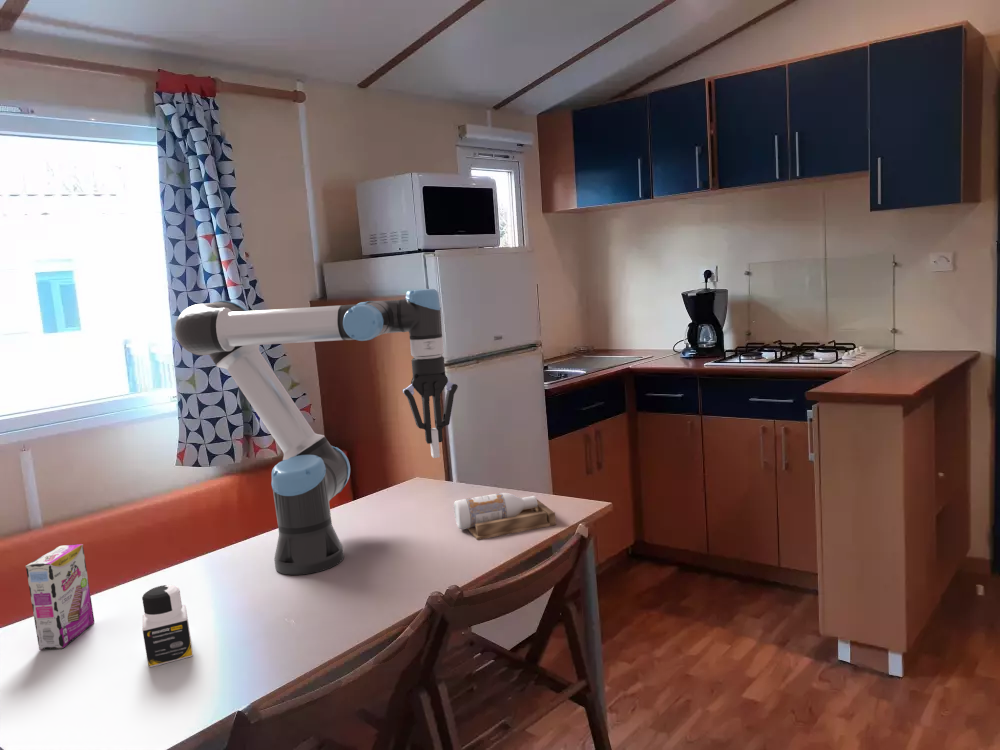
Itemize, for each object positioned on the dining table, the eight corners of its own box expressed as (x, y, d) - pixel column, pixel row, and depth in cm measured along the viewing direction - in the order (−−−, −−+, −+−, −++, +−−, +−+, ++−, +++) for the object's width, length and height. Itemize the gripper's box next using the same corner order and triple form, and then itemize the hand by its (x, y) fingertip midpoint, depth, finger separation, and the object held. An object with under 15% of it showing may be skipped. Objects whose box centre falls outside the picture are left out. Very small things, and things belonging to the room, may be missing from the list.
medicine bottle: (148, 668, 135) (137, 601, 134) (148, 651, 142) (138, 587, 140) (193, 657, 138) (182, 591, 136) (191, 640, 145) (181, 578, 143)
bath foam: (452, 497, 193) (530, 483, 198) (454, 524, 195) (532, 510, 200) (458, 505, 187) (539, 492, 192) (461, 533, 188) (541, 519, 193)
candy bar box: (64, 649, 146) (49, 563, 144) (38, 651, 146) (23, 566, 144) (97, 622, 157) (83, 542, 155) (72, 624, 157) (58, 544, 155)
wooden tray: (476, 540, 184) (475, 527, 183) (462, 523, 197) (461, 510, 197) (555, 525, 189) (554, 512, 189) (536, 509, 203) (535, 497, 202)
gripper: (402, 360, 178) (411, 463, 181) (458, 355, 182) (466, 456, 185) (396, 357, 185) (405, 456, 188) (451, 352, 189) (458, 449, 192)
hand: (435, 456), depth 187 cm, fingers closed
